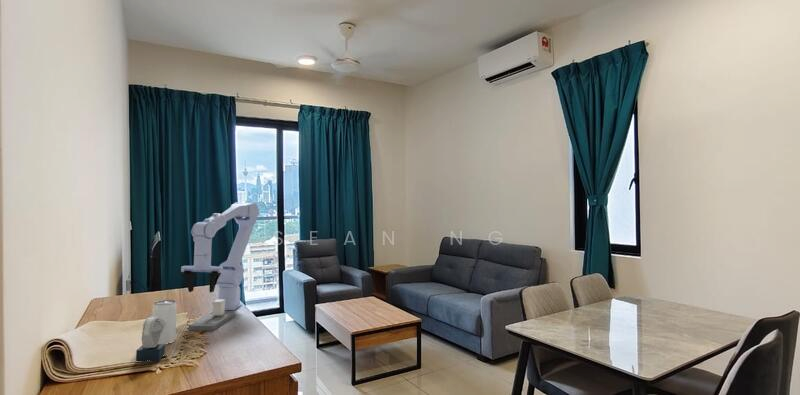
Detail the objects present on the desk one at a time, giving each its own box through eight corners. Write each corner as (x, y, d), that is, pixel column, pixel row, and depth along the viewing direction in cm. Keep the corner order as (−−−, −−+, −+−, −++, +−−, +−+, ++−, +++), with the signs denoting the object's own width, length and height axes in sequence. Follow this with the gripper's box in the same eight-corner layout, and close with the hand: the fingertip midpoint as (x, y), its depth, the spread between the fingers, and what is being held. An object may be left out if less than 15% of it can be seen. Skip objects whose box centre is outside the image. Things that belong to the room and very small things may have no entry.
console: (212, 315, 153) (213, 311, 153) (234, 316, 153) (234, 312, 153) (188, 330, 135) (188, 325, 135) (212, 330, 135) (212, 326, 135)
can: (180, 339, 126) (181, 300, 126) (166, 346, 120) (167, 305, 120) (160, 338, 127) (162, 299, 127) (145, 345, 120) (147, 304, 120)
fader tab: (216, 312, 151) (217, 299, 151) (225, 313, 151) (225, 299, 151) (211, 315, 147) (212, 301, 147) (220, 315, 147) (220, 301, 147)
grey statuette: (167, 352, 115) (168, 313, 115) (156, 363, 107) (158, 321, 107) (144, 353, 113) (146, 313, 114) (132, 364, 106) (134, 322, 106)
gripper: (177, 255, 147) (175, 293, 147) (217, 256, 147) (216, 294, 147) (187, 253, 154) (185, 289, 154) (225, 254, 154) (224, 290, 154)
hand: (201, 291), depth 151 cm, fingers open, 7 cm apart
